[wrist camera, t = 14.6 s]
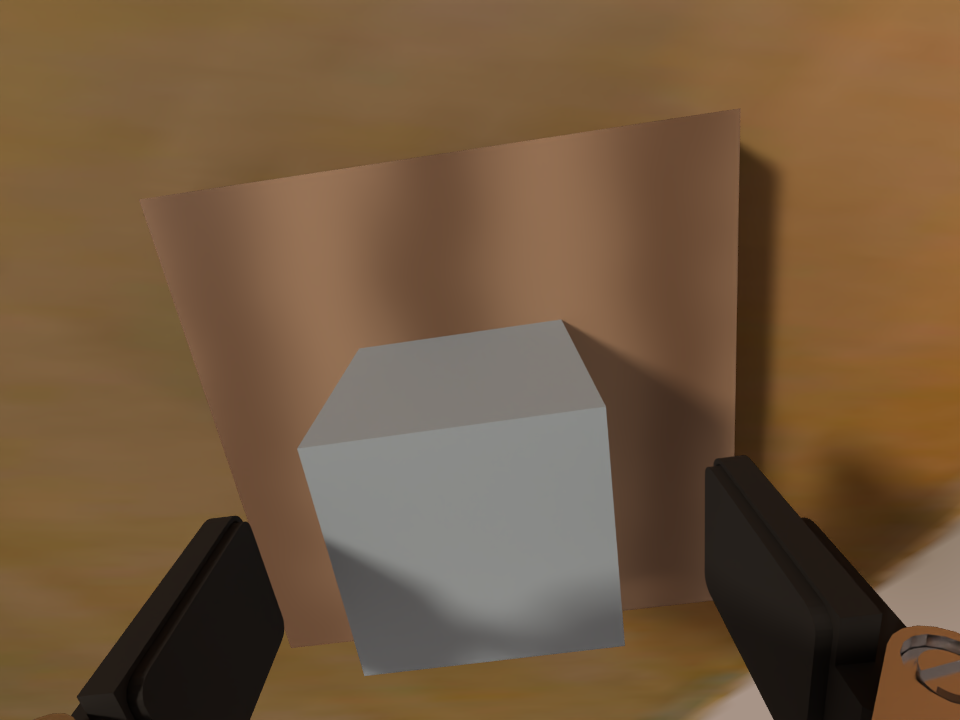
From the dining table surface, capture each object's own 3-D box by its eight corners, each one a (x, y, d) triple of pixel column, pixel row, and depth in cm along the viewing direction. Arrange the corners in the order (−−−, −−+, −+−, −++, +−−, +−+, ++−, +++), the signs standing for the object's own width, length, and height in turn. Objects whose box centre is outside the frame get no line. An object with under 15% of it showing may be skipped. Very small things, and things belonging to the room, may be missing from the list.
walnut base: (697, 116, 17) (740, 108, 14) (700, 542, 23) (732, 598, 20) (192, 192, 18) (139, 199, 15) (313, 588, 23) (291, 647, 20)
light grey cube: (561, 319, 16) (605, 406, 11) (579, 494, 18) (624, 645, 13) (359, 348, 16) (296, 448, 11) (399, 517, 18) (364, 675, 13)
